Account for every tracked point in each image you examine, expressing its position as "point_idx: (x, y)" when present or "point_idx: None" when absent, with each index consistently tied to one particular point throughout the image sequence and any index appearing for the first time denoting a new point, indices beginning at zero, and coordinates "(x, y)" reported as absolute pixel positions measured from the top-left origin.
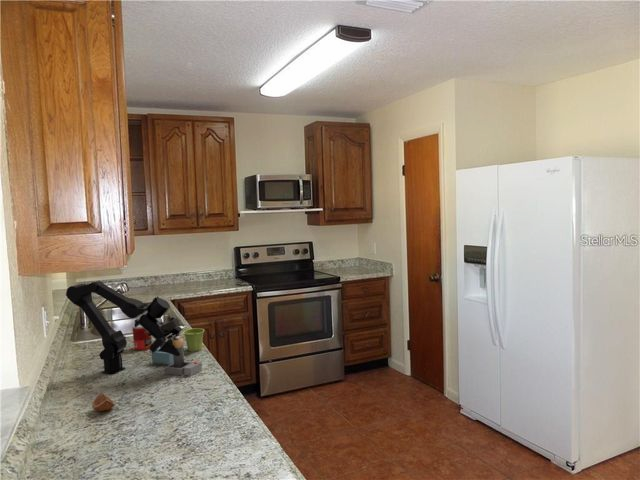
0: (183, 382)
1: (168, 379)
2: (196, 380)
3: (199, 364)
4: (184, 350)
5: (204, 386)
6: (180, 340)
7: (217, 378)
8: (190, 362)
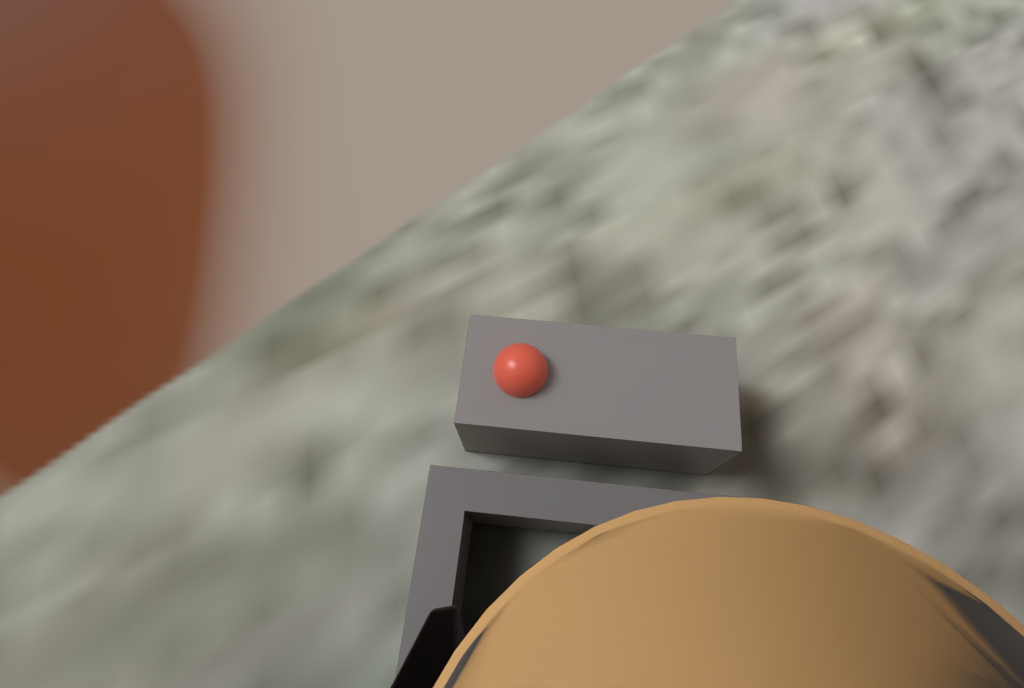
0: (901, 359)
1: None
2: (793, 254)
3: (521, 324)
4: (448, 608)
5: (889, 119)
6: (844, 535)
7: (677, 103)
8: (439, 521)
